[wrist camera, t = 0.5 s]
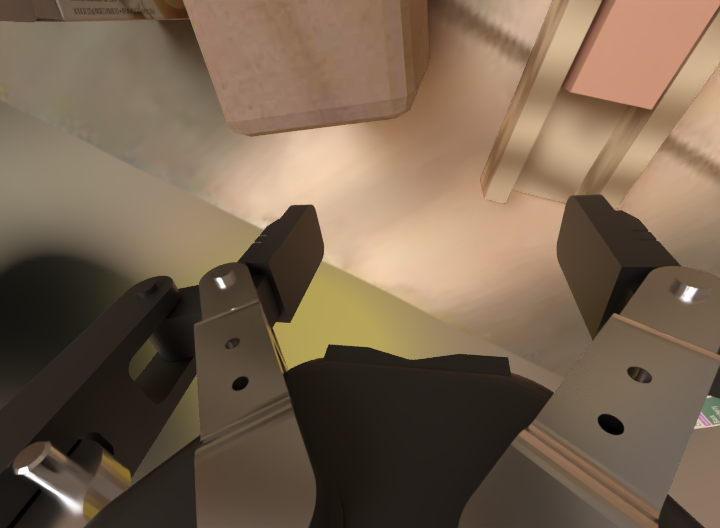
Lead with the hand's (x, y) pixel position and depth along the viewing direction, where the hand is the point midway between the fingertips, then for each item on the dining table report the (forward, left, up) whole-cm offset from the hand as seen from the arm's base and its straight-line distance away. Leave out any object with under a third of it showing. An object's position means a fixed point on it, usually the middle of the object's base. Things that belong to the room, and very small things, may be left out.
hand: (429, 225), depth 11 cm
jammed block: (-7, +12, -25) cm, 29 cm away
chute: (-3, +12, -26) cm, 29 cm away
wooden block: (-5, -8, -27) cm, 28 cm away
